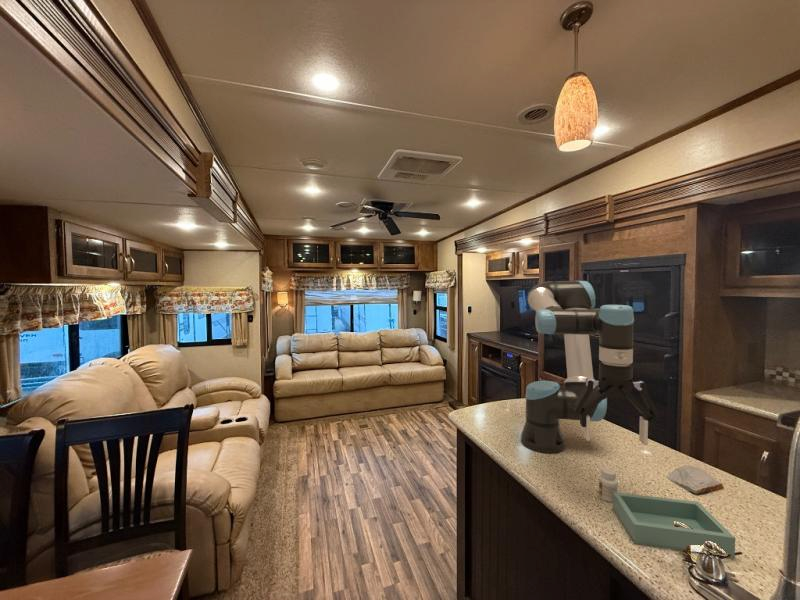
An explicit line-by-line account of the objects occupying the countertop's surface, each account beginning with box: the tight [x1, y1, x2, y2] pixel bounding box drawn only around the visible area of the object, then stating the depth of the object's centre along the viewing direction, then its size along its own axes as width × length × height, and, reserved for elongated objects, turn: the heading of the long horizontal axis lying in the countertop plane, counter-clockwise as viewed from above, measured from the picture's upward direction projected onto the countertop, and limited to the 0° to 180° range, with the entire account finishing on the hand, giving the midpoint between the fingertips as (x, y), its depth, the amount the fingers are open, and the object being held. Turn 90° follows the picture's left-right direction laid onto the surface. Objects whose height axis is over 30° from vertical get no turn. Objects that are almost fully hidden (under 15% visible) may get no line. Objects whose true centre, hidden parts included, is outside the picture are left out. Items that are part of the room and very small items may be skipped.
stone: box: [666, 465, 725, 494], centre depth 98 cm, size 10×12×4 cm
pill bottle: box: [598, 467, 619, 503], centre depth 92 cm, size 4×4×8 cm
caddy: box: [612, 492, 736, 559], centre depth 79 cm, size 12×19×5 cm, turn 76°
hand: (614, 440), depth 88 cm, fingers open, 13 cm apart
